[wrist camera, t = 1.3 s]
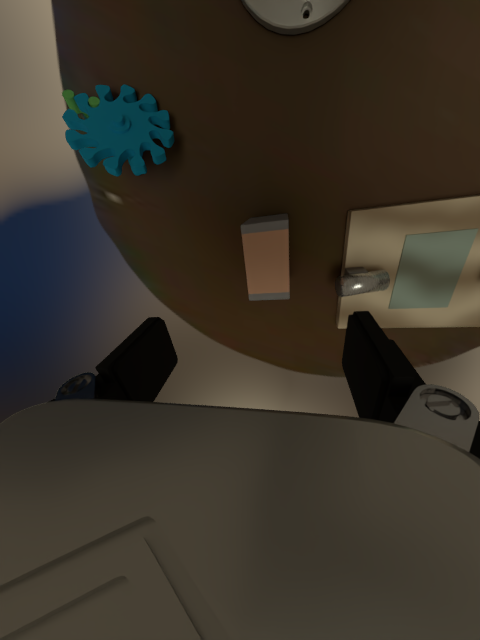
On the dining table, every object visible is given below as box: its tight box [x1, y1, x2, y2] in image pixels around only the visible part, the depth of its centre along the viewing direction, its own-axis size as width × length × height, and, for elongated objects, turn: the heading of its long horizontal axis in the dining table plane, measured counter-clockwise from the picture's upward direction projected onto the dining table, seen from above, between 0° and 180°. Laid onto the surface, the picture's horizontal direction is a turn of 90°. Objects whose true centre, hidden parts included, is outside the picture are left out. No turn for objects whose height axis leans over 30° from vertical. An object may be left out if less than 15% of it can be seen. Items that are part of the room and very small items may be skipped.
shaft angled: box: [335, 270, 390, 297], centre depth 25 cm, size 2×5×4 cm, turn 98°
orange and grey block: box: [241, 213, 290, 301], centre depth 25 cm, size 8×4×7 cm, turn 7°
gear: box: [62, 84, 174, 176], centre depth 23 cm, size 11×6×10 cm
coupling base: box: [336, 194, 480, 328], centre depth 25 cm, size 15×18×3 cm
